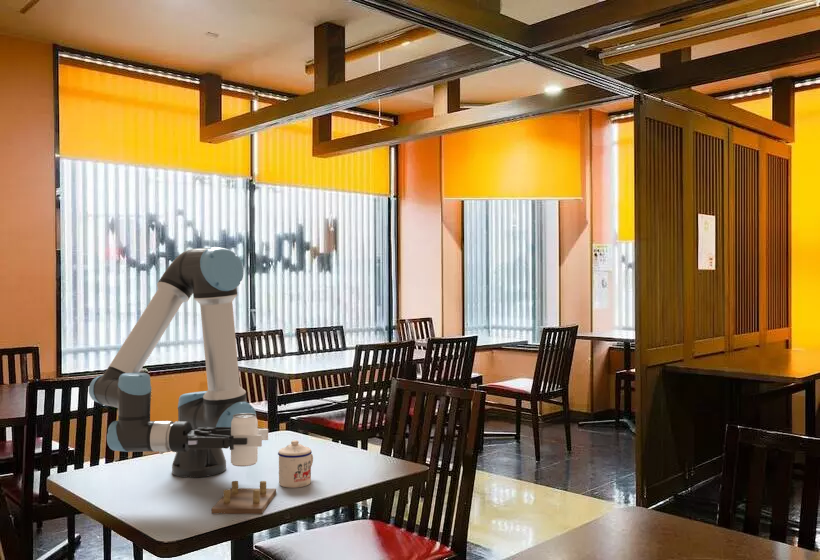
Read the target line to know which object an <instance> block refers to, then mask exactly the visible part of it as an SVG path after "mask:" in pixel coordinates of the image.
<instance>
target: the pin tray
mask: <svg viewBox="0 0 820 560" xmlns="http://www.w3.org/2000/svg"><path fill="white" fill-rule="evenodd" d="M276 494H277V488H267V481H266V480H262V481H259V488H254V487H252V488H249V487H248V488H245V487H244V488H242V487H241V488H239V481H238V480H233V481H231V488H229V489H224V490H223V496H222V497H221V498H219V500H218V501H217V502H216V504H214V505H213V506H212V508H211V514H212V513H222V514H224V515H225V514H230V515H231V514H232V515H233V514H237V515H238V514H239V515H242V514H248V515H249V514H252V515H254V514H257V515H258V514H259V515H263V513H264V511H265V510H266V508H268V505H269V504H270V503H271V502H272V500H273V499H274V497H275V496H276Z"/></svg>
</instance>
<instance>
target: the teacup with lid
mask: <svg viewBox="0 0 820 560" xmlns="http://www.w3.org/2000/svg"><path fill="white" fill-rule="evenodd" d="M277 455H278V484H279V486H281V487H283V488H287V489H289V488H290V489H291V488H293V489H294V488H295V489H297V488H303V487H306V486H308V485H310V484H311V481H312V475H311V474H312V466H313V462H314V455H313V453H312V449H311V448H310V447H307V446H304V445H303V444H300V443H299V440H297V439H296V440H295V439H294V440H291V442H290V443H289V444H287V445H286V446H285V447H282V448H280V449H279V450H278V452H277Z"/></svg>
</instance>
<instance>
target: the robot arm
mask: <svg viewBox="0 0 820 560" xmlns="http://www.w3.org/2000/svg"><path fill="white" fill-rule="evenodd" d="M243 279H244V265H243V262H242V260H241V259H240V257H239V255H237V253H236V252H234V251H233V250H231V249H229V248H226V247H219V246H218V247H217V246H213V247H205V248H203V247H202V248H190V249H187V250H185V251H183V252H181V253H180V254H179V255H178V256H176V258H175V259H174V260H173V261H172V262H171V263H170V264H169V266H168V267H167V268H166V270H165V271H164V272H163V274H162V276H161V277H160V278H159V280H158V282H157V283H156V287H157V290H156V292H155V293H154V295H153V297H152V298H151V300H150V301H149V303H148V304H147V306H146V308H145V309H144V311H143V312H142V314H140V315H141V316H140V317H139V318H138V320H137V322H136V323H135V325H134V326H133V328H132V329H131V331H130V333H129V334H128V336H127V337H126V339H125V341H123V344H122V345H121V346H120V348H119V350H117V352H116V355H115V356H114V358H113V360H112V361H111V363H110V364H109V366H108V367H107V369H106V370H105V372H104V373H103V374H102V375H98V376H97V377H94V378H93V379H92V380H91V382H90V384H89V386H88V394H89V396H90V398H91V399H92V400H93V401H94V402H95V403H98V404H100V405H102V406H105V407H106V406H109V407H112V408H117V410H118V411H117V415H118V416H117V417H118V418H117V420H114V421H112V422H111V423H110V424H109V425H108V428H107V434H106V442H107V447H109V449H110V450H112V451H114V452H126V453H132V452H134V453H135V452H137V453H138V452H139V453H141V452H143V453H145V452H147V453H149V452H151V453H153V452H159V455H163V454H164V453H168V452H173V453H175V456H174V459H173V460H172V461H173V462H172V464H171V474H172V475H174V476H176V477H180V478H203V477H204V478H205V477H211V476H215V475H218V474H220V473H221V474H222V473H223V472H224V471H226V470H227V459H226V457H225V454H224V450H223V449H229V451H231V450H233V449H234V446H254V447H258V448H261V447H262V446H263V444H262V442H263V441H268V440H269V428H258V435H235V438H234V436H232V435H231V422H232V419H233V415H235V414H241V413H252V414H256V415H257V413H256V409H255V408H254V407H253V406H252V405H251V404H250V403H249V402H248V401H247V391H246V390H245V389H244V388H243V387H242V386H241V385H240V372H239V362H238V352H237V349H238V348H237V340H236V327H235V326H236V325H235V317H234V307H233V306H234V305H233V301H234V300H235V298H236V297H237V296H238V287H239V286H240V285H241V282H242V280H243ZM192 295H193V300H195V301H196V302H197V303H198V304H199V307H200V316H201V327H202V338H203V348H204V351H203V352H204V360H205V361H204V362H205V371H206V372H205V373H206V381H207V390H202V391H193V392H188V393H183V394H181V395H180V396H179V398H178V402H177V412H178V413H177V417H178V418H177V420H176V421H172V420H151V400H152V399H151V398H152V386H151V375H150V374H149V373H147V372H141V371H142V369H143V367H144V366H145V364H146V362H147V361H148V359H149V357H150V356H151V354H152V352H153V351H154V350H155V348H156V346H157V345H158V343H159V341H160V340H161V338H162V336H163V335H164V334H165V332H166V331H167V328H168V327H169V326H170V324H171V322H172V321H173V319H174V317H175V315H176V314H177V313H178V311H179V309H180V308H181V306H182V304H183V303H187V302H188V301H189V300H190V298H191V297H192Z"/></svg>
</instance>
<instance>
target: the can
mask: <svg viewBox="0 0 820 560" xmlns="http://www.w3.org/2000/svg"><path fill="white" fill-rule="evenodd" d="M258 426H259V424H258V418H257V413H256V414H252V413H241V414H235V415H233V419H232V422H231V435H232V436H234V438H235V435H258V429H259V427H258ZM258 449H259V447H254V446H234V449H233V450H230V463H231V465H232V466H235V467H250V466H254V465H256V464H257V463H258V456H259V455H258Z"/></svg>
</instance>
